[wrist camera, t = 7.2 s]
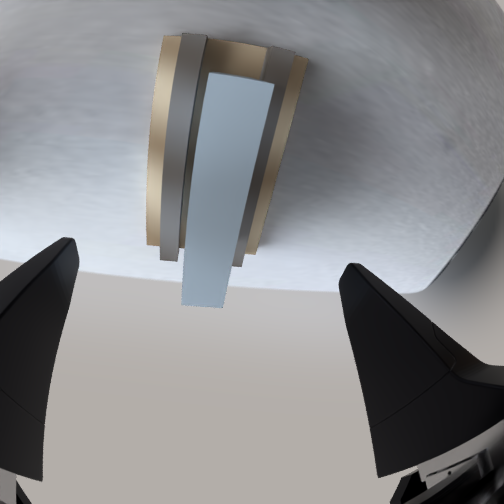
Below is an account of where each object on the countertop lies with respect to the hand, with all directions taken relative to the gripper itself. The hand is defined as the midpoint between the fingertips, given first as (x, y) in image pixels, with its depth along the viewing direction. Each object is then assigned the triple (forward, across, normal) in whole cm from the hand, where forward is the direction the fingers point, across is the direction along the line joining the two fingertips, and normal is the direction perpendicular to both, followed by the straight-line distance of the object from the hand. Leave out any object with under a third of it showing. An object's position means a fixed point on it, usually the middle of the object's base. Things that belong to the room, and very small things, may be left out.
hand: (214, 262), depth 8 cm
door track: (+10, 0, 0) cm, 10 cm away
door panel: (+9, 0, 0) cm, 9 cm away
